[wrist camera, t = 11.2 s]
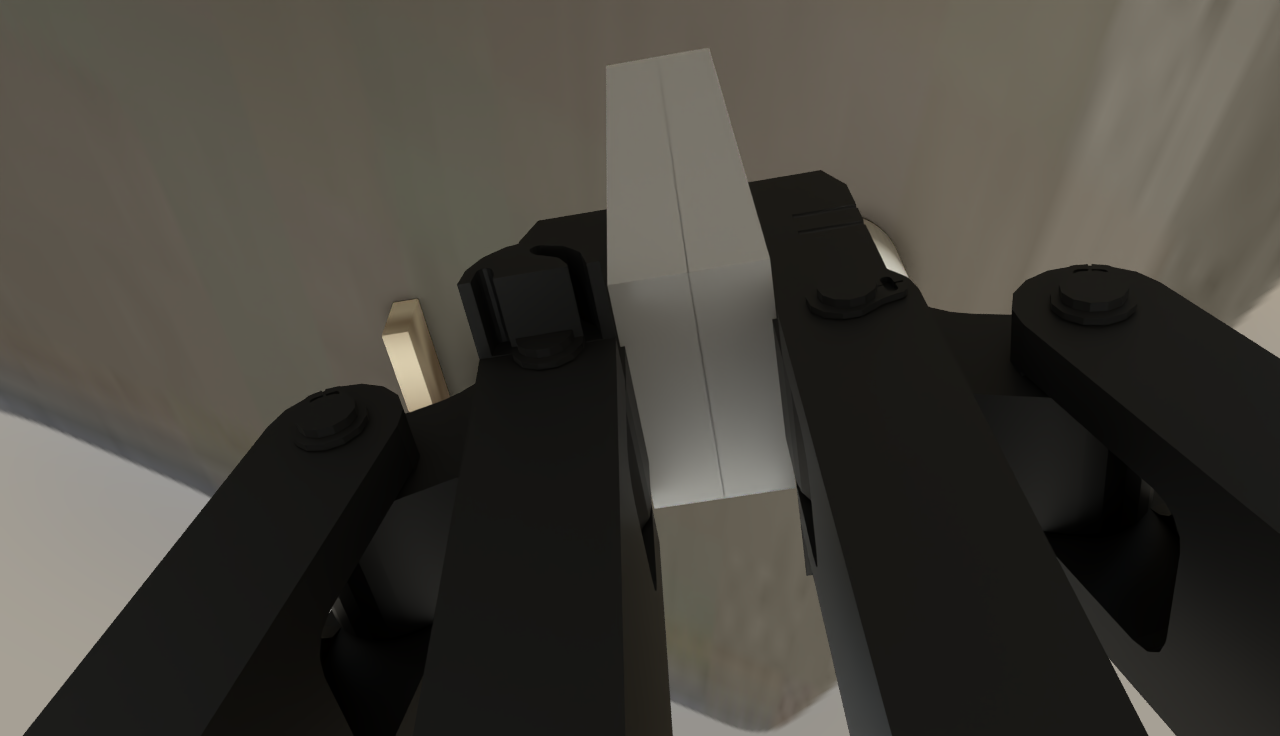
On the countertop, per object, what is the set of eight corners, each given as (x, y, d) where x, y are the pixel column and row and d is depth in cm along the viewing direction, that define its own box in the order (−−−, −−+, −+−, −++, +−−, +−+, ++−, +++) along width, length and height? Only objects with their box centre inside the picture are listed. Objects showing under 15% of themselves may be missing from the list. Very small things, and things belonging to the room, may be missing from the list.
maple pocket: (393, 302, 49) (381, 335, 47) (653, 260, 48) (656, 291, 46) (450, 469, 55) (443, 507, 52) (684, 434, 54) (688, 470, 51)
